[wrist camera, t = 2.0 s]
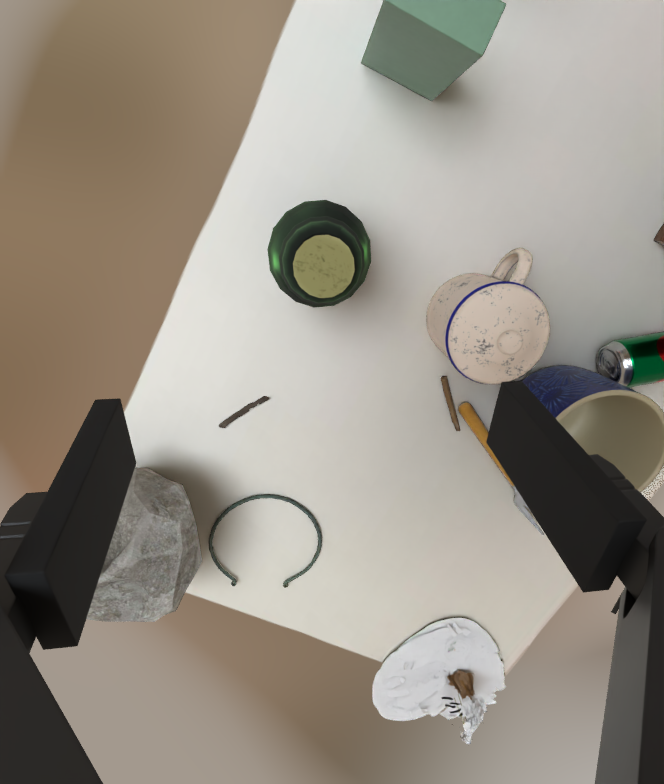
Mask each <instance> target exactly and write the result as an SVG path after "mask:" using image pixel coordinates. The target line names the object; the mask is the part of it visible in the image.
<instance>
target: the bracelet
mask: <svg viewBox="0 0 664 784" xmlns="http://www.w3.org/2000/svg"><path fill="white" fill-rule="evenodd" d="M260 498H274V499H280V500H283V501H286V502H290V503H292V504H293V505H295V506H296V507H298V508H299V509H300V510H302V511H303V512H304V513H306V514H307V515H308V517H309V518H310V519H311V520H312V522H313V523H314V526H315V528H316V530H317V533H318V547H317V552H316V553H315V555H314V558H313V560H312V562H311V563H310V564H309V565H308V566H307V567H306V568H305V569H304V570H303V571H302V572H300V573H298V574H296V575H295V576H293V577H291V578H289V579H287V580H286V581H285V582H284V583H283V586H284V587H285V588H286V587H288V583H289V582H290V581H292V580H294V579H296V578H298V577H299V576H301V575H303V574H304V573H305V572H307V571H308V570H309V569H310V568H311V567H312V566H313V564H314V562H315V561H316V559H317V557H318V556H319V553H320V550H321V546H322V545H321V543H322V535H321V531H320V528H319V525H318V524H317V522H316V520H315V518H314V517H313V515H312V514H311V513H310V512H309V511H308V510H307V509H305V508H304V507H303V506H302V505H300V504H298V503H297V502H295V501H294V500H291V499H289V498H286V497H282V496H278V495H270V494H267V495H256V496H251V497H248V498H245V499H243V500H240V501H238V502H237V503H234V504H233V505H232V506H230V507H228V508H227V509H226V510H225V511H224V512H223V513H222V514H221V515H220V516H219V517H218V519H217V520H216V522H215V523H214V525H213V527H212V530H211V534H210V537H209V550H210V553H211V556H212V558H213V560H214V562H215V564H216V565H217V567H218V568H219V569H220V570H221V571H222V572H223V573H224V574H225V575H226V576H227V577H229V578H230V579H231V580H232V582H231V585H232V586H235V585H236V579H235V578H234V577H232V576H231V575H230V574H229V573H228V572H226V571H225V570H224V569H223V568H222V567H221V565H220V564H219V562H218V561H217V559H216V556H215V553H214V550H213V546H212V540H213V537H214V532H215V529H216V527H217V525H218V523H219V522H220V521H221V519H222V518H223V517H224V516H225V515H226V514H227V513H228V512H229V511H230V510H232V509H233V508H235V507H237V506H238V505H241V504H243V503H245V502H248V501H250V500H254V499H260ZM233 582H234V584H233ZM286 584H287V585H286Z"/></svg>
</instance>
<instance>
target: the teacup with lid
mask: <svg viewBox="0 0 664 784" xmlns="http://www.w3.org/2000/svg"><path fill="white" fill-rule="evenodd" d="M532 260H533V258H532V254H531V253H530V252H529V251H528V250H525V249H523V248H517V249H514V250H512V251H510V252H509V253H508V254H506V255H505V256H504V257H503V258H502V260H501V261H500V262H499V264H498V265H497V267H496V268H495V270H494V272H493V274H492V275H491V277H489V276H486V275H482V274H476V273H470V274H463V275H459V276H456V277H454V278H452V279H450V280H449V281H447V282H446V283H444V284H443V285H442V286H441V287H440V288H439V289H438V290H437V291H436V293H435V294H434V296H433V297H432V299H431V301H430V303H429V306H428V310H427V316H426V322H427V329H428V332H429V335H430V337H431V339H432V341H433V342H434V343H435V345H436V346H437V347H438V348H439V349H440V350H441V351H442V352H443V353H444V354H445V355H446V356H447V357H448V358H449V359H450V361H451V363H452V364H453V366H454V367H455V368H456V369H457V371H458V372H460V373H461V374H462V375H463V376H465V377H466V378H468V379H470V380H472V381H475V382H478V383H482V384H501V383H502V382H509V381H512V380H514V379H516V378H518V377H520V376H522V375H523V374H525V373H526V372H528V371H529V370H530V369H531V368H532V367H533V366H534V365H535V364H536V363H537V362H538V360H539V359H540V358H541V356H542V354H543V353H544V351H545V348H546V346H547V343H548V340H549V335H550V320H549V315H548V312H547V309H546V307H545V305H544V303H543V301H542V300H541V299H540V297H539V296H538V295H537V294H536V293H535V292H534V291H532V290H531V289H529V288H528V287H526V286H524V285H523V284H524V282H525V280H526V278H527V276H528V274H529V272H530V270H531V266H532ZM517 262H518V263H517ZM515 263H517V266H516V268H515V270H514V272H513V274H512V276H511V278H510V280H509V281H503V280H504V279H505V277H506V275H507V273H508V272H509V270H510V269H511V268H512V266H513V265H514V264H515Z"/></svg>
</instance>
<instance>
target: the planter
mask: <svg viewBox="0 0 664 784" xmlns="http://www.w3.org/2000/svg"><path fill="white" fill-rule="evenodd" d="M522 382H523V383H524V384H525V385H526V386H527V387H528V388H529V390H530V391H531V392H532V393H533V394H534V395H535V396H536V397H537V398H538V400H539V401H540V402H541V403H542V404H543V405H544V406H545V407H546V408H547V409H548V411H549V412H550V413H551V414H552V415H553V416H554V417H555V418H556V419H557V421H558V422H559V423H560V424H561V425H562V426H563V427H564V428H565V429H566V431H567V432H568V433H569V434H570V435H571V436H572V437H573V438H574V439H575V440H576V442H577V443H578V444H579V445H580V446H581V447H582V448H583V449H584V450H585V452H586V453H587V454H588V455H593V454H598V455H600V456H601V457H603V458H604V459H606V460H607V461H609V462H610V463H612V464H614V465H615V466H616V467H617V469H618V470H619V471H620V472H621V473H622V474H623V475H624V476H625V479H628V480H629V481H630V482H631V483H632V484H633V485H634V487H635V489H637V490H638V491H639V492H640V493H641V492H642V491H643V490H644V489H645V488H646V487H647V486H648V485H649V484H650V483H651V482H652V481H653V480H654V479H655V477H656V476H657V475H658V473H659V472H660V470H661V469H662V467H663V465H664V412H663V411H662V409H661V408H660V407H659V406H658V405H657V404H656V403H655V402H654V401H653V400H651V399H650V398H648V397H647V396H645V395H642V394H640V393H638V392H636V391H634V390H632V389H630V388H628V387H626V386H624V385H622V384H620V383H617V382H615V381H613V380H611V379H609V378H607V377H605V376H602V375H600V374H597V373H595V372H592V371H589V370H586V369H583V368H580V367H575V366H565V365H561V366H552V367H547V368H544V369H541V370H538V371H536V372H534V373H532V374H531V375H529V376H528V377H526V378H525V379H524V380H522Z"/></svg>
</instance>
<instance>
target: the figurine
mask: <svg viewBox="0 0 664 784" xmlns="http://www.w3.org/2000/svg"><path fill="white" fill-rule="evenodd" d="M499 651H500V650H499V649H498V647H497V645H496V644H495V642H494V641H493V639H492V638H491V636H490V635H489V634H488V633H487V632H486V631H485V630H484V629H483V628H481V627H480V626H479V625H478V624H477V623H476V622H474V621H472V620H469V619H464V618H450V619H446V620H441V621H437V622H435V623H433V624H431V625H429V626H427V627H426V628H424V629H423V630H422V631H420V632H418V633H416V634H415V635H413V636H412V637H411V638H409V639H408V640H407V641H405V642H404V643H403V644H402V645H401V646H400V647H399V648H398V649H397V650H396V651H394V652H393V653H391V654H390V655H389V656H388V657H387V658H386V660H385V662H384V663H383V665H382V667H381V669H380V670H379V671H378V672H377V674H376V676H375V679H374V682H373V689H372V691H373V694H372V699H373V703H374V706H375V707H376V708H377V709H378V711H379V713H380V715H382V716H383V717H384V718H386V719H389V720H397V721H406V720H413V719H416V718H419V717H423V716H425V715H427V714H430V715H431V716H432V717H433V716H436V715H437V714H438V713H440V712H441V711H442V710H443V709H445V707H447V706H449V707H448V708H447V709H446V710H445V711H443V712H442V713H440V715H442V716H444V717H446V718H447V719H448V720H449V719H450V718H452V719H453V718H454V717H461V718H464V716H465V718H467V719H466V722H465V724H464V725H463V727H464V729H465V731H464V733H462V732H461V736H460V737H461V739H462V741H465V743H467V744H471V740H472V736H471V735H472V733H473V732H474V731H475V729H476V728H477V727H478V726H479V723H480V722H482V721H483V720H482V719H483V714H484V712H487V711H486V709H487V707H486V704H484V702H485V703H487V704H494V703H496V702H495V700H494V699H493V698H495V697H496V695H495V694H494V692H495V691H496V690H497V689H498V690H499V691H501V690H503V689H504V688H505V687H506V686H505V685H504V684H503V683H504V663H503V661H502V662H501V659H500V657H499V655H498V653H497V652H499ZM452 672H456V673H454V674H453V673H452ZM495 687H496V688H497V689H496V688H495ZM449 704H450V705H449ZM462 720H463V719H462ZM463 723H464V722H463Z"/></svg>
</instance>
